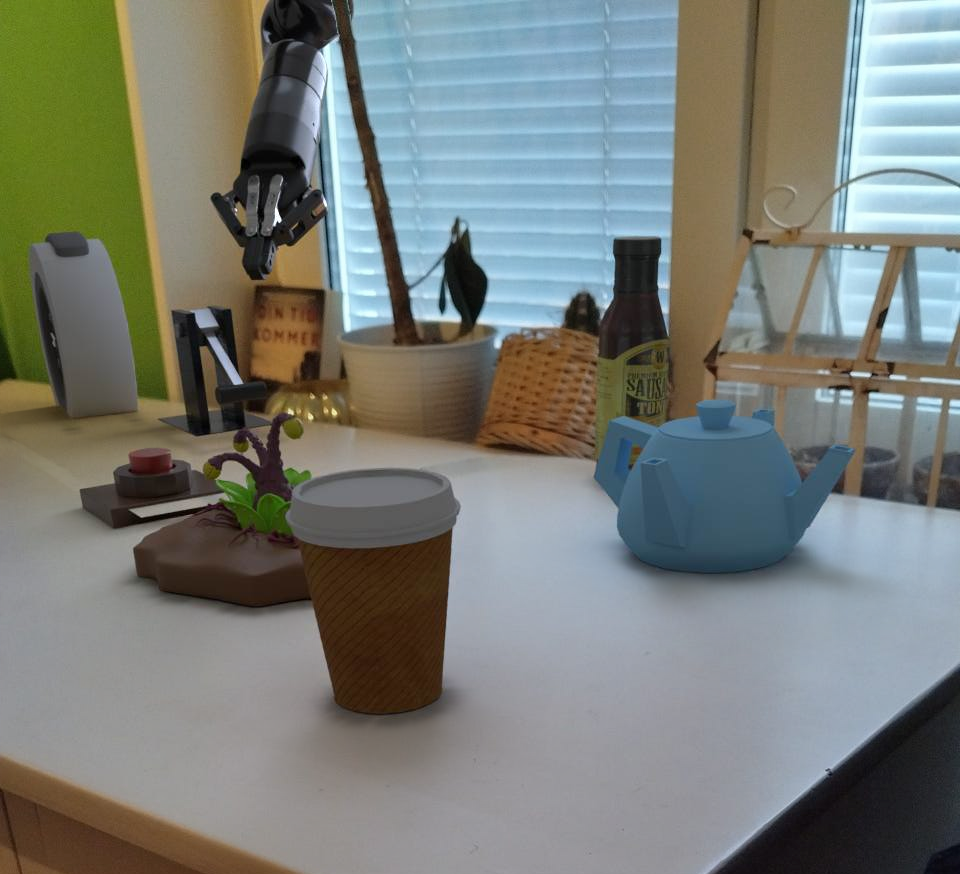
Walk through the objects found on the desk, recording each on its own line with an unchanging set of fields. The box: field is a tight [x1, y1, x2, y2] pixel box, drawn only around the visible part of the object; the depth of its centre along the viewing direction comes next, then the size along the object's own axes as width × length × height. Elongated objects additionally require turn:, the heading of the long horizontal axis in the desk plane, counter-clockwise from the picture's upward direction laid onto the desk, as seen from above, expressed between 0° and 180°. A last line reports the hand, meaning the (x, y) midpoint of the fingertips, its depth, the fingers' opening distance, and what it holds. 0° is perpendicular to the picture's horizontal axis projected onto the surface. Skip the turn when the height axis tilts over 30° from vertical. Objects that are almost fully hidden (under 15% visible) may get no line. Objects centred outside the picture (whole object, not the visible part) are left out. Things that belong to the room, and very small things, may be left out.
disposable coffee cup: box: [285, 467, 462, 715], centre depth 74 cm, size 10×10×12 cm
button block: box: [79, 458, 225, 530], centre depth 116 cm, size 11×9×4 cm
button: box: [128, 447, 173, 474], centre depth 115 cm, size 4×4×2 cm
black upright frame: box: [157, 304, 273, 437], centre depth 140 cm, size 12×9×13 cm
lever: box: [189, 308, 268, 406], centre depth 136 cm, size 12×5×2 cm
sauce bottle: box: [594, 235, 671, 471], centre depth 115 cm, size 6×6×20 cm
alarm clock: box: [28, 230, 139, 419], centre depth 151 cm, size 21×8×20 cm, turn 23°
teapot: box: [593, 398, 856, 574], centre depth 96 cm, size 15×15×11 cm
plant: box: [132, 411, 312, 608], centre depth 98 cm, size 20×20×11 cm
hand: (255, 274), depth 135 cm, fingers closed
